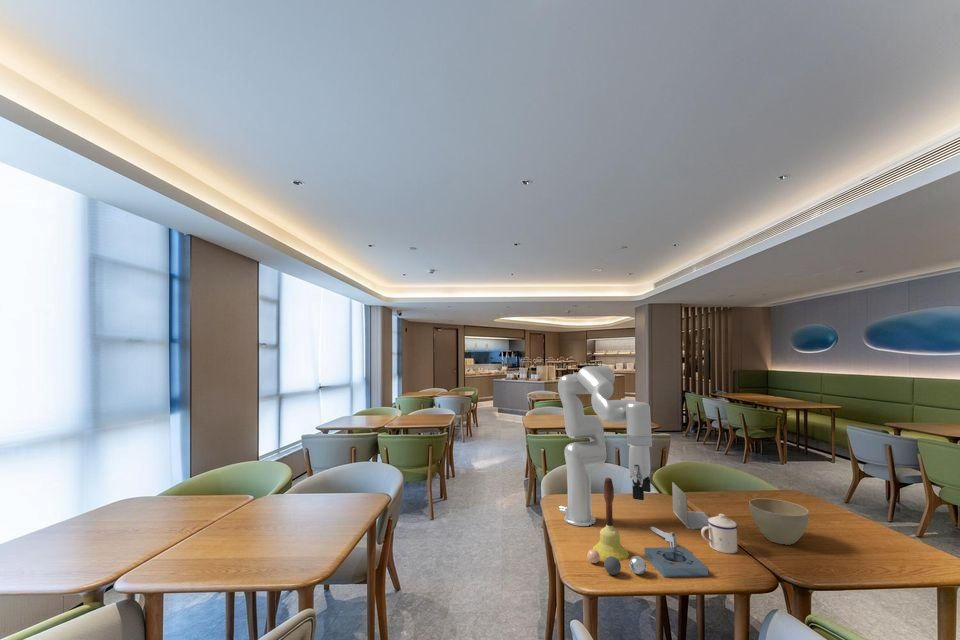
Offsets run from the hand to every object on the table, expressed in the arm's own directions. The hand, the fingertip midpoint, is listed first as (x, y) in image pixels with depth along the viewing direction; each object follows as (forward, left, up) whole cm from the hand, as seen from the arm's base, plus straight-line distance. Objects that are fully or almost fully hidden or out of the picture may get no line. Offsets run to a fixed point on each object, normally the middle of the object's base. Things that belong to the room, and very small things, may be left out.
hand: (642, 495), depth 134 cm
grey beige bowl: (+36, +51, -24) cm, 67 cm away
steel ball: (-1, -2, -21) cm, 21 cm away
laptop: (+8, +54, -24) cm, 60 cm away
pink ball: (-15, -4, -21) cm, 26 cm away
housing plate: (+7, +9, -23) cm, 26 cm away
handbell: (-13, +7, -24) cm, 28 cm away
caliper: (0, +28, -24) cm, 36 cm away
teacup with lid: (+18, +31, -24) cm, 43 cm away
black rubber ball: (-8, -7, -21) cm, 23 cm away
